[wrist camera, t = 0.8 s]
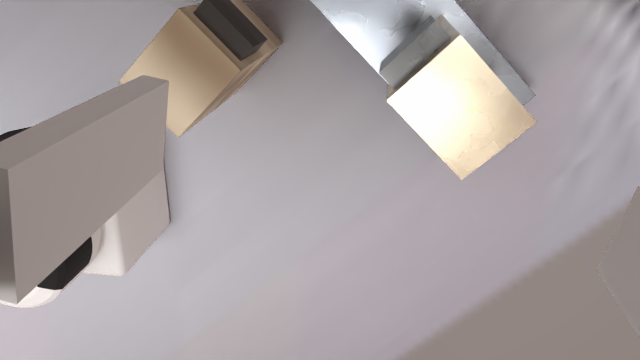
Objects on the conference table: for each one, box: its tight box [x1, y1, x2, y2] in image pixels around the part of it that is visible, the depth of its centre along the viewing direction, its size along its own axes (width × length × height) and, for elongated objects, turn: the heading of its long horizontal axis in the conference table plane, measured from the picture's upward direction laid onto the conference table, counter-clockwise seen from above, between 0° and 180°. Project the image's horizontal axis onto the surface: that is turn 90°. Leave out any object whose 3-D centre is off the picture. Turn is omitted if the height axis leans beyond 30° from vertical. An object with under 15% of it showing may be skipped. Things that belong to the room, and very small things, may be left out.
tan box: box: [119, 0, 283, 137], centre depth 30 cm, size 6×4×10 cm, turn 135°
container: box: [0, 164, 170, 308], centre depth 34 cm, size 8×8×13 cm
